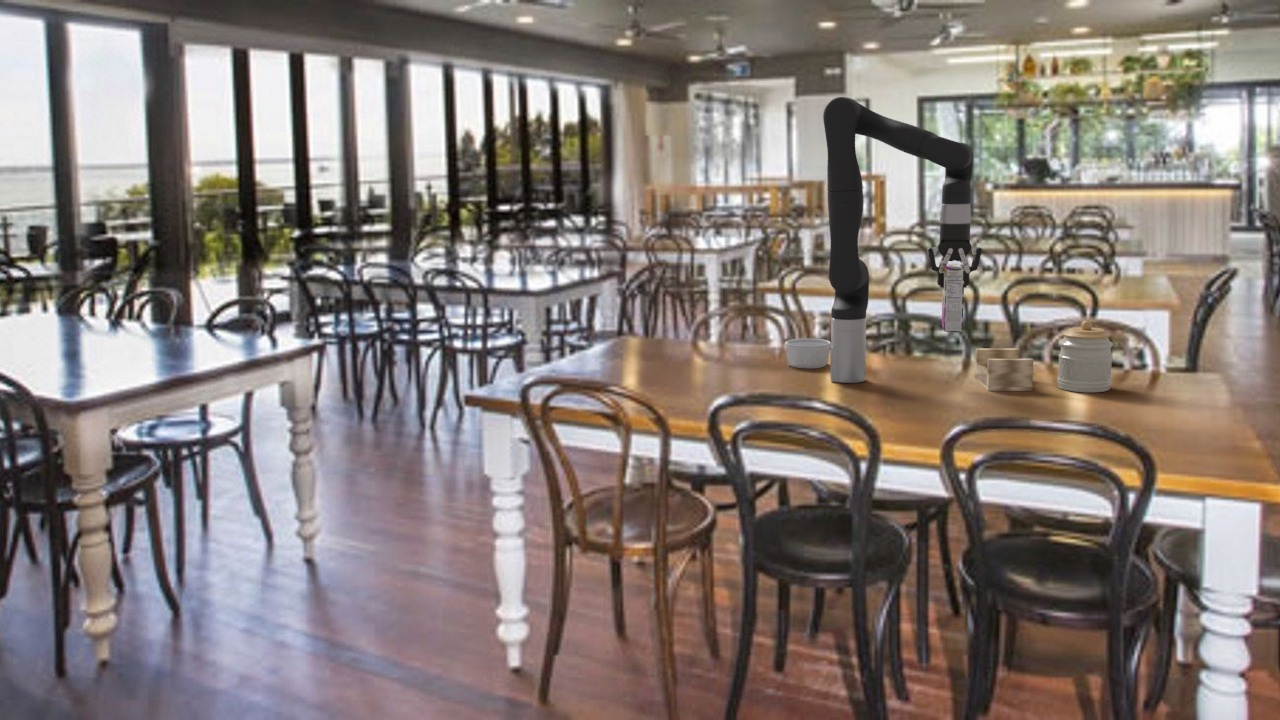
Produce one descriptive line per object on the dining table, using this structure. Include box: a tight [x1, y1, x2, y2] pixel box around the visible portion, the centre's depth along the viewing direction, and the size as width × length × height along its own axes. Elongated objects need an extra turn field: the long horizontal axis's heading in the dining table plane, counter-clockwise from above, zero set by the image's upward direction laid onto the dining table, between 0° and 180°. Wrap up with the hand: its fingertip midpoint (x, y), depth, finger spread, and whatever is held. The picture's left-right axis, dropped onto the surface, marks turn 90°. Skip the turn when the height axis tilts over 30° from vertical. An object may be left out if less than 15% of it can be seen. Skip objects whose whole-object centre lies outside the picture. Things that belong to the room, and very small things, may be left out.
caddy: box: [974, 347, 1034, 392], centre depth 302 cm, size 11×18×8 cm, turn 174°
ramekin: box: [784, 338, 831, 369], centre depth 335 cm, size 13×13×7 cm
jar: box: [1056, 320, 1114, 393], centre depth 293 cm, size 13×13×18 cm
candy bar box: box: [941, 263, 965, 333], centre depth 297 cm, size 11×5×16 cm, turn 168°
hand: (953, 287), depth 296 cm, fingers closed on candy bar box, 5 cm apart
